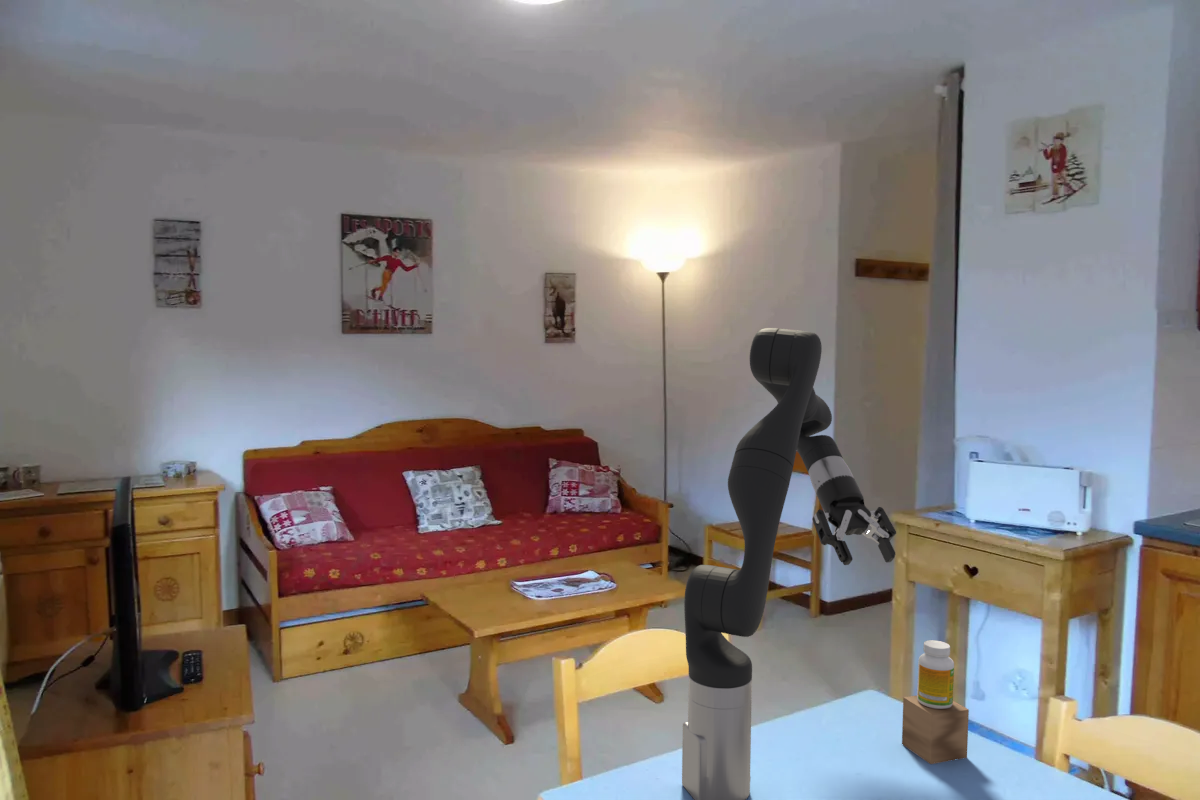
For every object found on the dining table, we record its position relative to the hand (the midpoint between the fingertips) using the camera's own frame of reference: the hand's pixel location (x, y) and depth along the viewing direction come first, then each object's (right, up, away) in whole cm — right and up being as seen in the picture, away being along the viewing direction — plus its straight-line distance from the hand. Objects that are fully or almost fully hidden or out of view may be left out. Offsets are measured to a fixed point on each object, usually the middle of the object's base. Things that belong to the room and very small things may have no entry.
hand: (870, 561), depth 147 cm
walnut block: (+7, -29, -10) cm, 31 cm away
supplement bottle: (+7, -21, -10) cm, 25 cm away
